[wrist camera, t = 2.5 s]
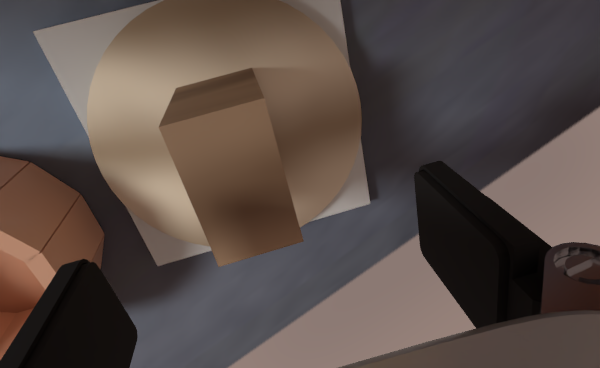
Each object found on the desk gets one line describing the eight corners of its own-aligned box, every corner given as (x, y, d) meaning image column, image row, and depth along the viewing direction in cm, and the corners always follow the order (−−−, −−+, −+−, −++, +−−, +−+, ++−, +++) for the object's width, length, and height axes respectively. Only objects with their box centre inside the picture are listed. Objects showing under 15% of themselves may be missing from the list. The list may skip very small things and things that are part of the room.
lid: (33, 31, 16) (-69, 54, 10) (333, -45, 16) (391, -63, 11) (158, 265, 22) (138, 358, 16) (371, 202, 23) (420, 270, 17)
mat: (38, 30, 16) (32, 31, 15) (330, -43, 17) (333, -44, 16) (158, 259, 22) (157, 266, 22) (366, 198, 23) (370, 203, 23)
